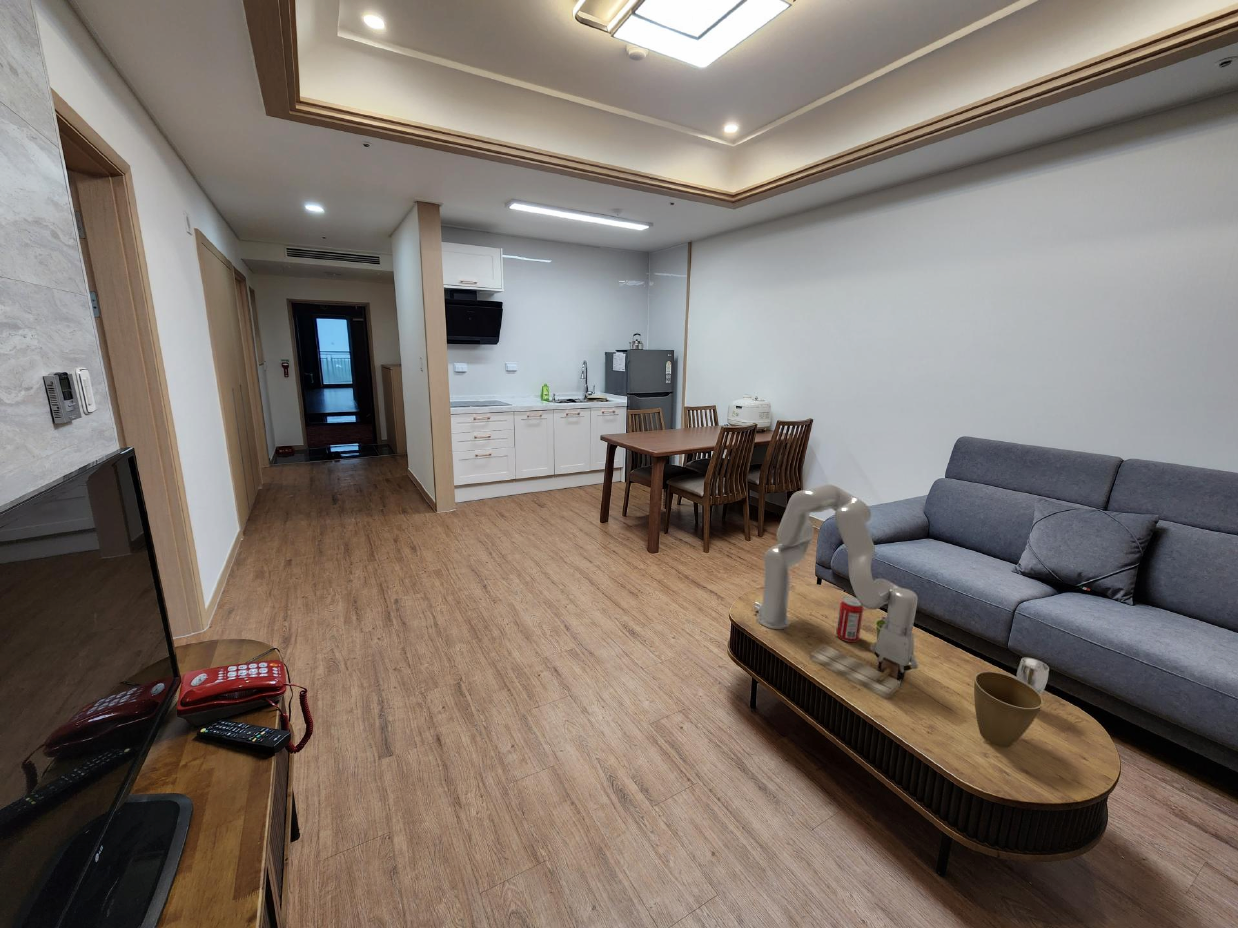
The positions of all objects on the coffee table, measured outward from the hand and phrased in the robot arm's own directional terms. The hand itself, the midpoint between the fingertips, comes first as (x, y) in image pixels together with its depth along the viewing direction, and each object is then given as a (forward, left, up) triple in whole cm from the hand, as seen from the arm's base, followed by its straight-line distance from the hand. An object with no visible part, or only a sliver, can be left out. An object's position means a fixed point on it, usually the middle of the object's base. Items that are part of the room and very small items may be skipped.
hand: (890, 675), depth 164 cm
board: (-9, -7, -1) cm, 12 cm away
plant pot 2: (+30, -4, -1) cm, 30 cm away
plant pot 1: (-8, +17, -1) cm, 18 cm away
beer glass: (+32, +18, -1) cm, 37 cm away
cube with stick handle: (0, -4, -1) cm, 4 cm away
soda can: (-20, +12, -1) cm, 23 cm away
